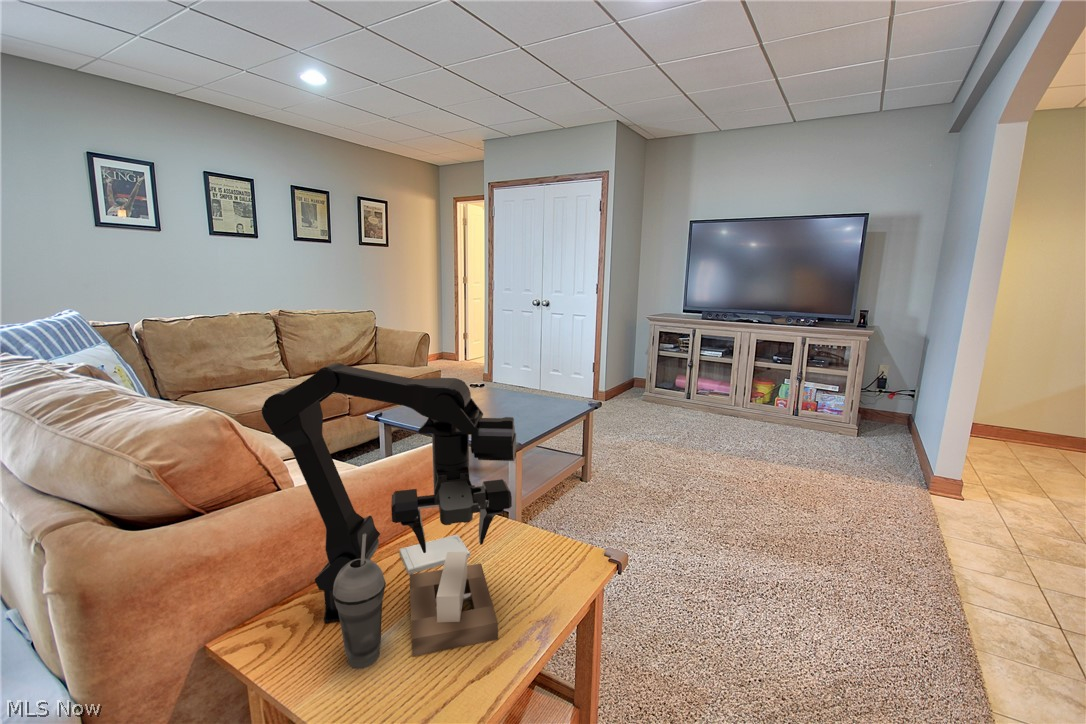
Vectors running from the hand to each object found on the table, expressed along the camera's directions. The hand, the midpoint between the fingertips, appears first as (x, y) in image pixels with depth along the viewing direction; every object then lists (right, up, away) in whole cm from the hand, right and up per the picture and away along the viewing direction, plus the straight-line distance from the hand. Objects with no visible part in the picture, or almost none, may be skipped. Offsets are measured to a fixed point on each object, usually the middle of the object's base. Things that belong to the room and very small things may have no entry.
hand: (453, 547), depth 79 cm
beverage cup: (-12, -14, -8) cm, 20 cm away
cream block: (0, -9, +1) cm, 9 cm away
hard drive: (-7, -9, +19) cm, 22 cm away
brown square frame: (-1, -12, +2) cm, 12 cm away
